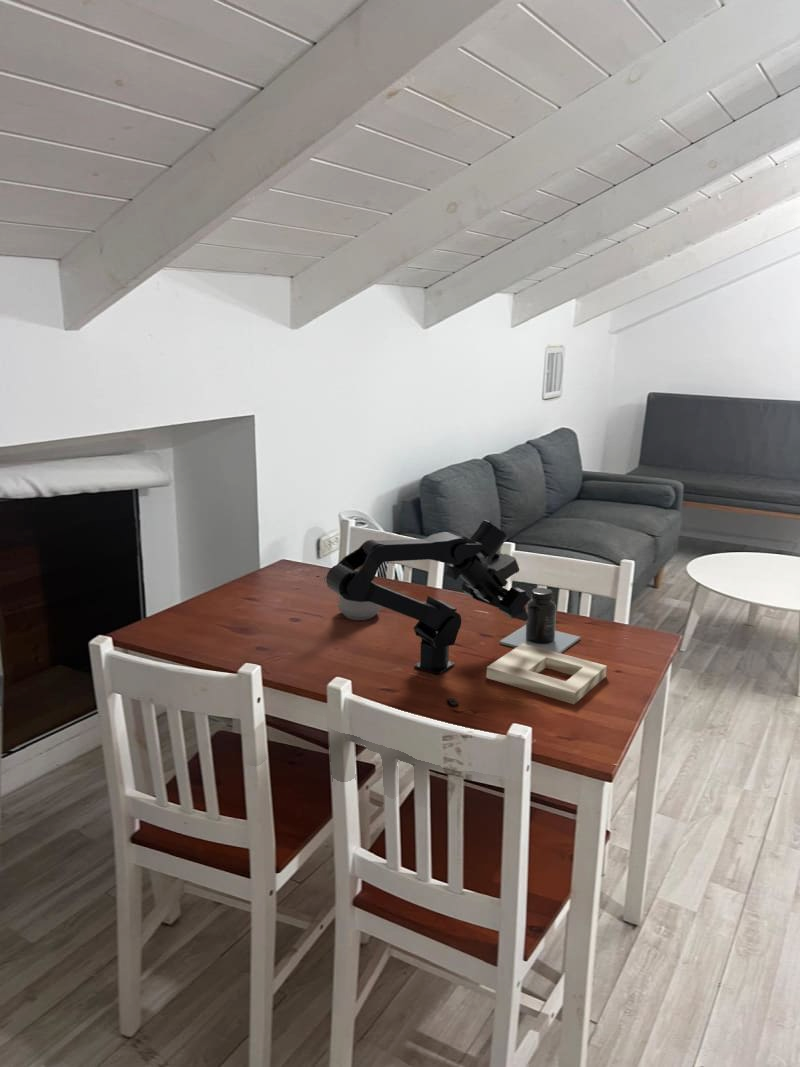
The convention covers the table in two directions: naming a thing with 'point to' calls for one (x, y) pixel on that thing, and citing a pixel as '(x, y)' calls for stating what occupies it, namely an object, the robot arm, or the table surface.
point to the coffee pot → (358, 607)
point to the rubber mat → (557, 645)
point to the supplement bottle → (541, 617)
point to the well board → (530, 660)
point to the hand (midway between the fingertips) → (514, 613)
